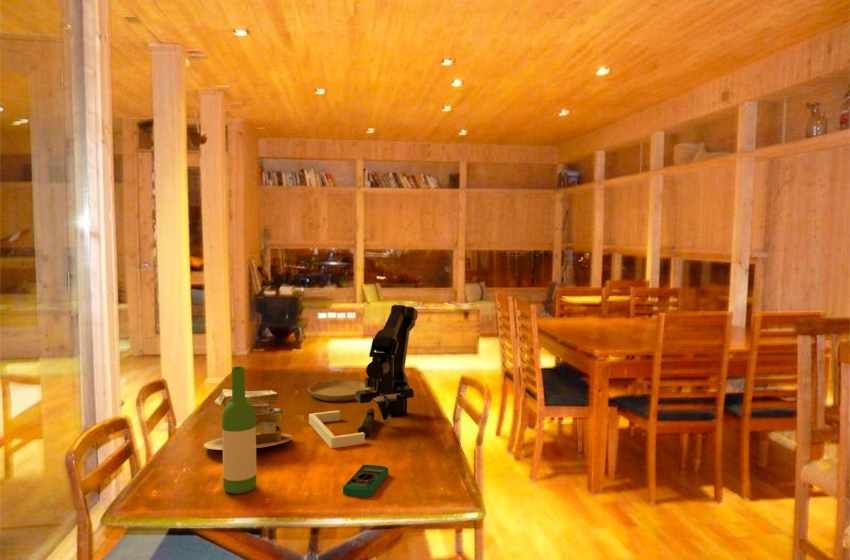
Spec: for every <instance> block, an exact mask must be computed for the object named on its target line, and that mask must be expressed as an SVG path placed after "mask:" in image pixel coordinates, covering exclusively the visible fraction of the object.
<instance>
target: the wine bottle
mask: <svg viewBox="0 0 850 560" xmlns="http://www.w3.org/2000/svg"><path fill="white" fill-rule="evenodd" d="M245 376H246V375H245V367H244V366H240V365H239V366H233V367H231V390H232V401H231V402H230V403H229V404H228V405H227V406H226V407H225V409H224V408H223V411H222V416H221V419H222V420H221V422H222V427H221V429H222V437H221V438H223V450H222V478H223V480H222V483H223V489H224V491H225V492H226V493H228V494H231V495H233V494H234V495H240V494H241V495H242V494H246V493H249V492H250V491H252V490H254V489H255V488H256V485H257V448H256V422H255V410H254V408H253V406H252V405H251V404H250V403H249V402H248V401H247V400H246V399H245V391H246V378H245Z"/></svg>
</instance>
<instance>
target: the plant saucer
mask: <svg viewBox="0 0 850 560" xmlns="http://www.w3.org/2000/svg"><path fill="white" fill-rule="evenodd" d="M307 390H308V392H309V394H310V395H311V396H312V397H313V398H315V399H316V400H322V401H325V402H346V401H353V400H356V399H355V393H356V392H357V391H361V390H368V391H370V388H366V387H365V382H362V381H357V380H351V379H350V380H349V379H333V380H324V381H319V382H314V383H312V384H310V385H309V386H308V387H307Z"/></svg>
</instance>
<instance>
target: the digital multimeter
mask: <svg viewBox="0 0 850 560" xmlns="http://www.w3.org/2000/svg"><path fill="white" fill-rule="evenodd" d="M388 476H389V468H388V467H387V466H385V465H379V464H378V465H377V464H362V465H361V466H360V467H359V469H358V470H357V471H356V472H355V473H354V474H353V476H352V477H351V478H350V479H348V481H347V482H346V483H345V484H343V486H342V494H343V495H345V496H350V497H358V498H372V497H373V496H374V493H375V492H376V491H377V489H378V487H379V486H380V485H381V484H382V483H383V481H384V480H385V479H386V478H388Z"/></svg>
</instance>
